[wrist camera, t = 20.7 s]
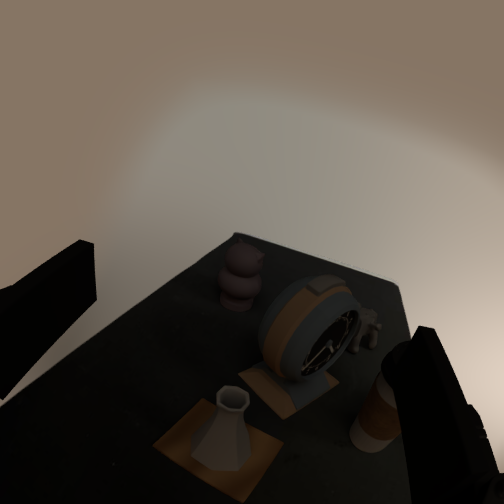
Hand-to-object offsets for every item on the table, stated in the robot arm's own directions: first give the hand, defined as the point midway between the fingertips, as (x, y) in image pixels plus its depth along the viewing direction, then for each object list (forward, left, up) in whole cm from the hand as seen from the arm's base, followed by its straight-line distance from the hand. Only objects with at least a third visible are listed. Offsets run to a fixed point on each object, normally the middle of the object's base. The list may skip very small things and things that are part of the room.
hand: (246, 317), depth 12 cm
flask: (-3, +9, -27) cm, 28 cm away
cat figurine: (-18, +37, -27) cm, 49 cm away
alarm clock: (-1, +25, -27) cm, 37 cm away
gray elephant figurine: (+4, +39, -27) cm, 48 cm away
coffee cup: (+13, +21, -27) cm, 37 cm away
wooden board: (-3, +9, -27) cm, 29 cm away
